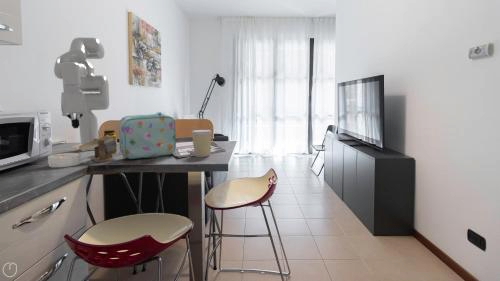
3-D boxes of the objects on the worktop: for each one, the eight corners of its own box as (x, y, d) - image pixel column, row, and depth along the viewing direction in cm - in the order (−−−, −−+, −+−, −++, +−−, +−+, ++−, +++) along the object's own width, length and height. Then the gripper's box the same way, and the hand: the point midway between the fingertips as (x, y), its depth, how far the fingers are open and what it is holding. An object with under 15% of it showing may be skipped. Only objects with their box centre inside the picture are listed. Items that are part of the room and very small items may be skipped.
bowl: (46, 164, 160) (45, 155, 160) (76, 160, 168) (76, 152, 167) (52, 168, 151) (51, 158, 150) (83, 164, 158) (83, 155, 158)
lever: (76, 156, 175) (71, 144, 173) (105, 145, 183) (101, 133, 181) (85, 161, 162) (80, 147, 160) (117, 148, 170) (112, 135, 168)
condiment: (120, 152, 190) (118, 130, 188) (103, 155, 184) (102, 131, 182) (114, 151, 195) (112, 129, 193) (98, 153, 189) (96, 130, 188)
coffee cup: (213, 153, 179) (212, 129, 178) (210, 156, 170) (209, 131, 169) (195, 153, 180) (194, 129, 179) (190, 157, 171) (189, 131, 169)
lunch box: (171, 152, 187) (168, 111, 185) (179, 154, 179) (177, 111, 176) (118, 158, 172) (115, 113, 169) (125, 161, 163) (122, 114, 161)
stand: (91, 159, 171) (89, 139, 170) (107, 157, 176) (106, 137, 175) (98, 162, 163) (96, 140, 161) (115, 160, 167) (113, 139, 166)
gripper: (87, 89, 176) (90, 126, 179) (52, 89, 167) (56, 128, 169) (91, 88, 170) (94, 127, 173) (56, 89, 161) (60, 129, 164)
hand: (75, 128), depth 171 cm, fingers closed
